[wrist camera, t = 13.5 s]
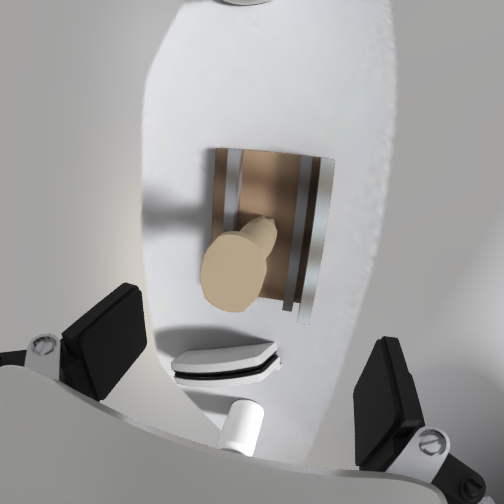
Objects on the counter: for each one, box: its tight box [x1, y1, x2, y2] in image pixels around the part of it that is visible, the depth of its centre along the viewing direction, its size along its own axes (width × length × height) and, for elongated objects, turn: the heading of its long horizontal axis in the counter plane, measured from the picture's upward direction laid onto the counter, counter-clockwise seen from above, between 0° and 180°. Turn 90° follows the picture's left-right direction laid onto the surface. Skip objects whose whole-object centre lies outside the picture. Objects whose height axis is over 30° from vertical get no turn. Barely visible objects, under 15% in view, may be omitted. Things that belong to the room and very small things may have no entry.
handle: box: [200, 216, 278, 312], centre depth 29 cm, size 5×6×15 cm
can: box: [217, 399, 264, 457], centre depth 44 cm, size 6×6×12 cm
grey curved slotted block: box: [171, 342, 282, 387], centre depth 42 cm, size 17×5×10 cm, turn 108°
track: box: [211, 148, 335, 325], centre depth 34 cm, size 19×14×6 cm
